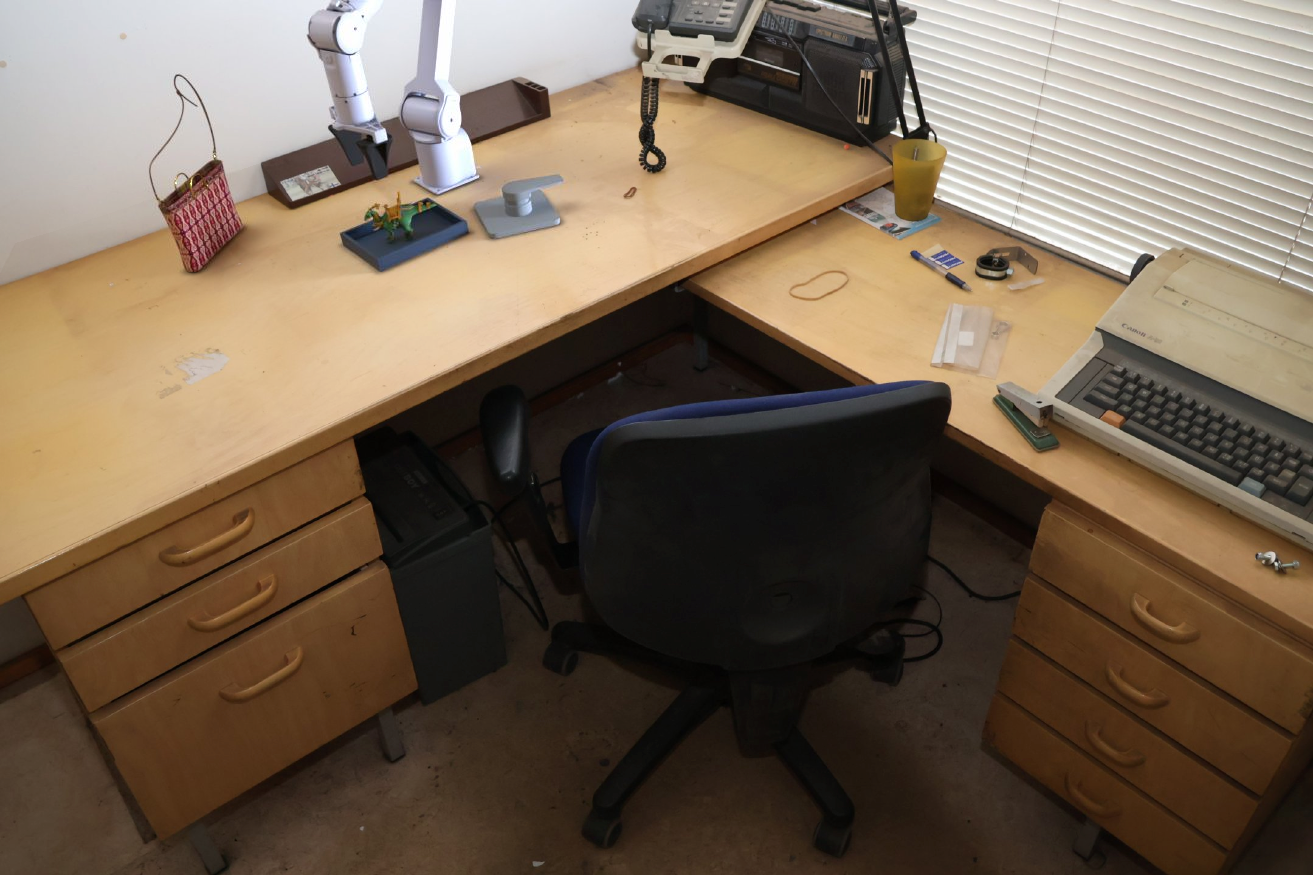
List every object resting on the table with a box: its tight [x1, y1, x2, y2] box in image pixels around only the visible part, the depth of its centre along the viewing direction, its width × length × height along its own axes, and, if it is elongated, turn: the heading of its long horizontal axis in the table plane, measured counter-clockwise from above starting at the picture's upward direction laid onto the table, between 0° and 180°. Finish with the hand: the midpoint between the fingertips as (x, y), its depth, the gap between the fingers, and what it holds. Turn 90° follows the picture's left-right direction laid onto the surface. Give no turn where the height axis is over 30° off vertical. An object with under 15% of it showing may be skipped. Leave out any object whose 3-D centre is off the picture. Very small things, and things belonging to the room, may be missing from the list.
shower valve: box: [473, 174, 565, 240], centre depth 172 cm, size 12×6×15 cm
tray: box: [339, 197, 470, 272], centre depth 168 cm, size 17×12×2 cm
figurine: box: [363, 191, 437, 243], centre depth 165 cm, size 3×12×8 cm, turn 108°
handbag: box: [148, 73, 243, 273], centre depth 162 cm, size 7×21×25 cm, turn 168°
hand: (369, 171), depth 167 cm, fingers open, 7 cm apart
